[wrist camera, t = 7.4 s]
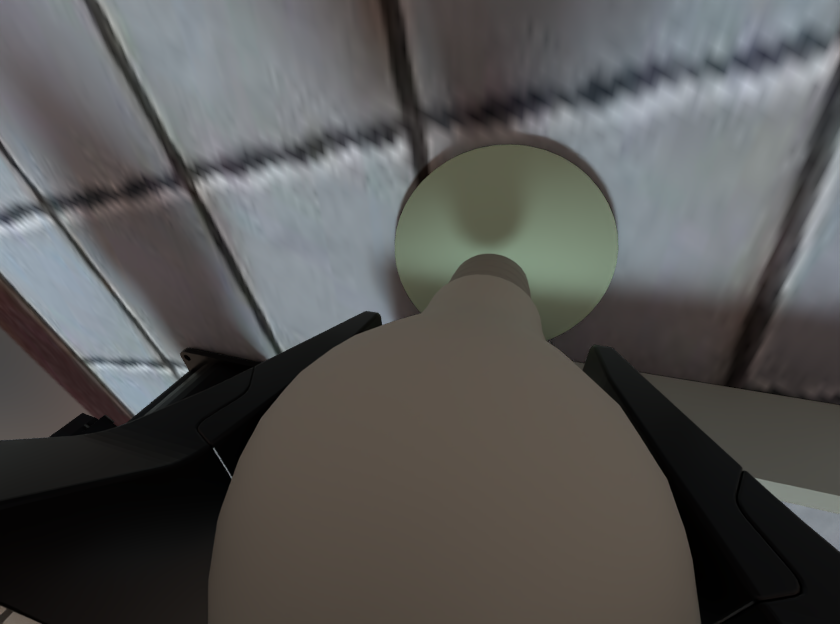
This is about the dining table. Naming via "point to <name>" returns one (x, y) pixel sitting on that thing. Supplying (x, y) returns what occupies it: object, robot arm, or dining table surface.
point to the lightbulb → (450, 483)
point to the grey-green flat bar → (768, 437)
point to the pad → (511, 229)
